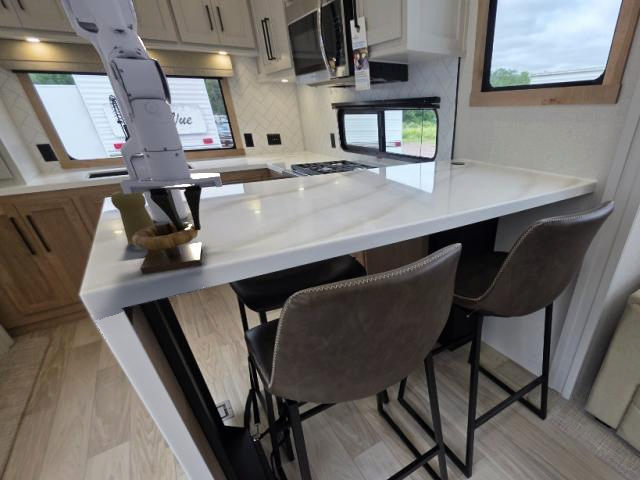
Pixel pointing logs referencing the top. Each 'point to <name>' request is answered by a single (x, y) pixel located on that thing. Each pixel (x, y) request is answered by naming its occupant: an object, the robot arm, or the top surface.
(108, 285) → the top surface
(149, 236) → the ring
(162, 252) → the holder
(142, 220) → the cork
